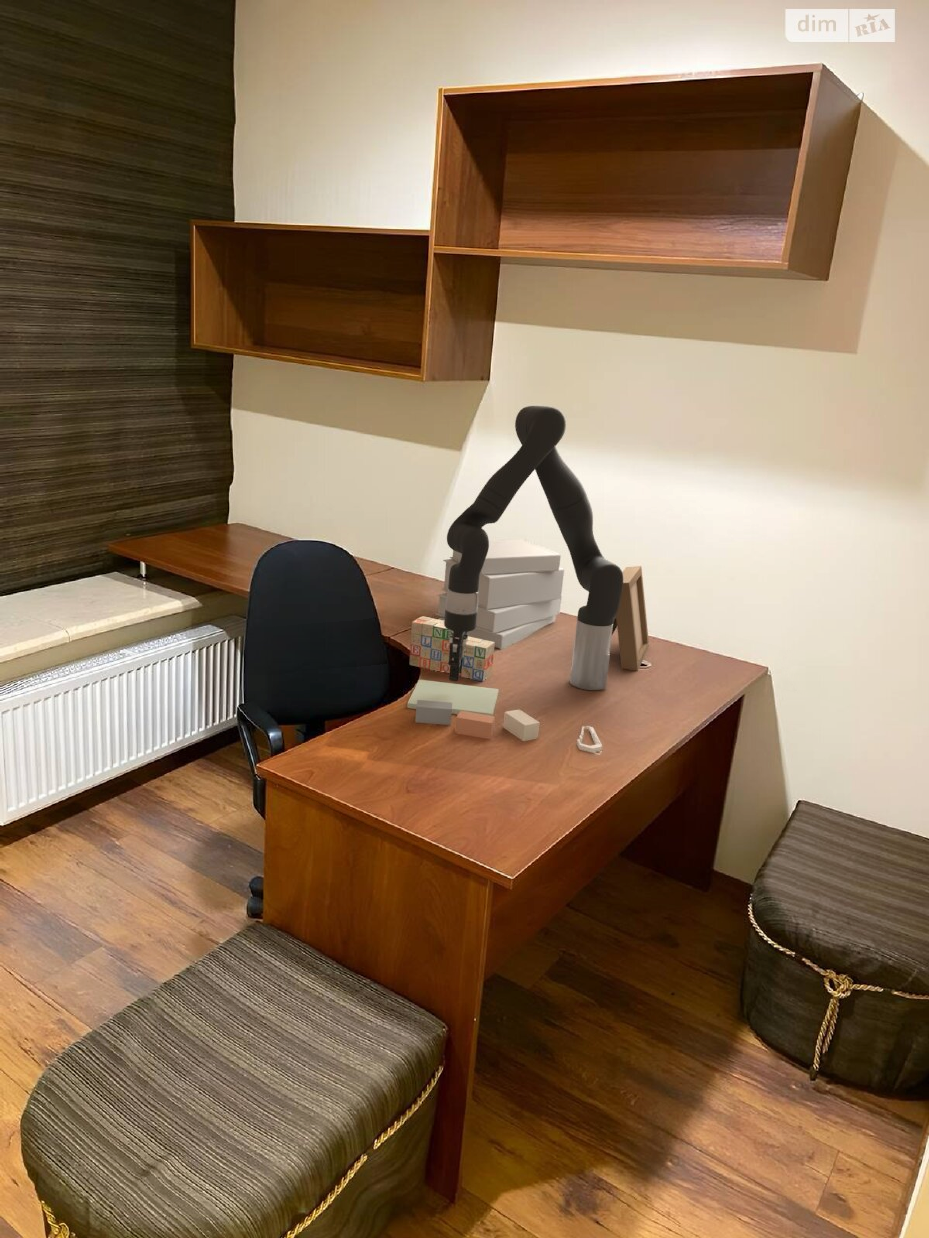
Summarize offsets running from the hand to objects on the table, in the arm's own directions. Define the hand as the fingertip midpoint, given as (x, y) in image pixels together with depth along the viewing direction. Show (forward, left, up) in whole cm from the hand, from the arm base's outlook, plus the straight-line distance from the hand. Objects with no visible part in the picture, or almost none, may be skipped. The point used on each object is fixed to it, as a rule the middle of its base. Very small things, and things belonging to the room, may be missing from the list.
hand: (455, 676), depth 223 cm
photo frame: (-41, -47, -6) cm, 62 cm away
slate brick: (+3, +13, -6) cm, 15 cm away
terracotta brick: (-7, +17, -6) cm, 20 cm away
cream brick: (-17, +14, -6) cm, 23 cm away
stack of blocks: (+4, -21, -7) cm, 22 cm away
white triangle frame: (-32, +14, -7) cm, 36 cm away
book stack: (-5, -59, -7) cm, 60 cm away
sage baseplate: (0, 0, -6) cm, 6 cm away
